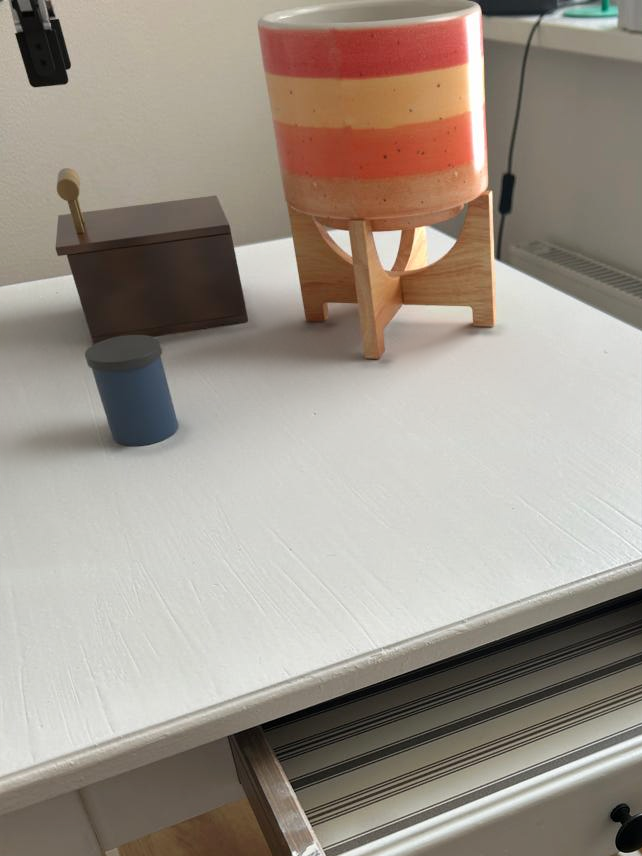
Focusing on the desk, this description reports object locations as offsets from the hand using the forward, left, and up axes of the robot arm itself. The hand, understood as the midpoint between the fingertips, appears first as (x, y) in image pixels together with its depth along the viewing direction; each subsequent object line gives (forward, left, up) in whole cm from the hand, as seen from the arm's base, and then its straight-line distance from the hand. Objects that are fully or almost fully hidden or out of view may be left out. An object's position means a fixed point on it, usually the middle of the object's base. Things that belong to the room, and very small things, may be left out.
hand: (52, 77), depth 88 cm
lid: (+4, +3, -14) cm, 15 cm away
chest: (+4, +3, -23) cm, 24 cm away
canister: (+8, -26, -23) cm, 36 cm away
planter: (+29, -4, -23) cm, 37 cm away
